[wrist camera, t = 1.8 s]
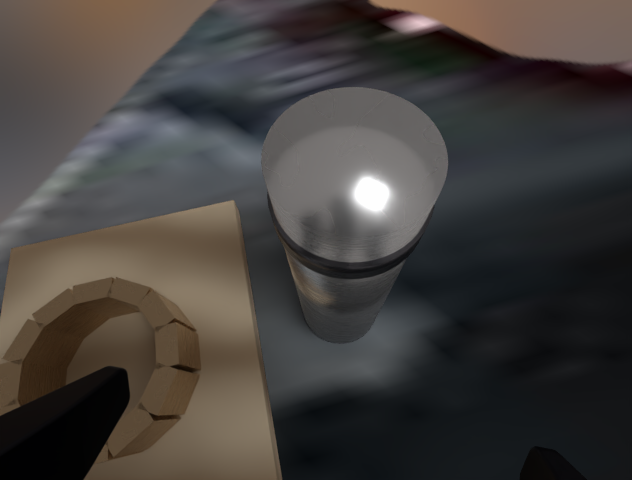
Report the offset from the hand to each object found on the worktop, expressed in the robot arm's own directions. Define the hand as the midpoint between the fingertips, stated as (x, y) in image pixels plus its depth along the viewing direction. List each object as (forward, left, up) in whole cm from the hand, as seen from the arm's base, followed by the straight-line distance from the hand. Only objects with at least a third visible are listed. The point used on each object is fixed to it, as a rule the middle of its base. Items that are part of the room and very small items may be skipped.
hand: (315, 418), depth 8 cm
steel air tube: (+5, -2, -12) cm, 13 cm away
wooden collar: (+4, +10, -10) cm, 15 cm away
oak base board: (+4, +10, -12) cm, 16 cm away
